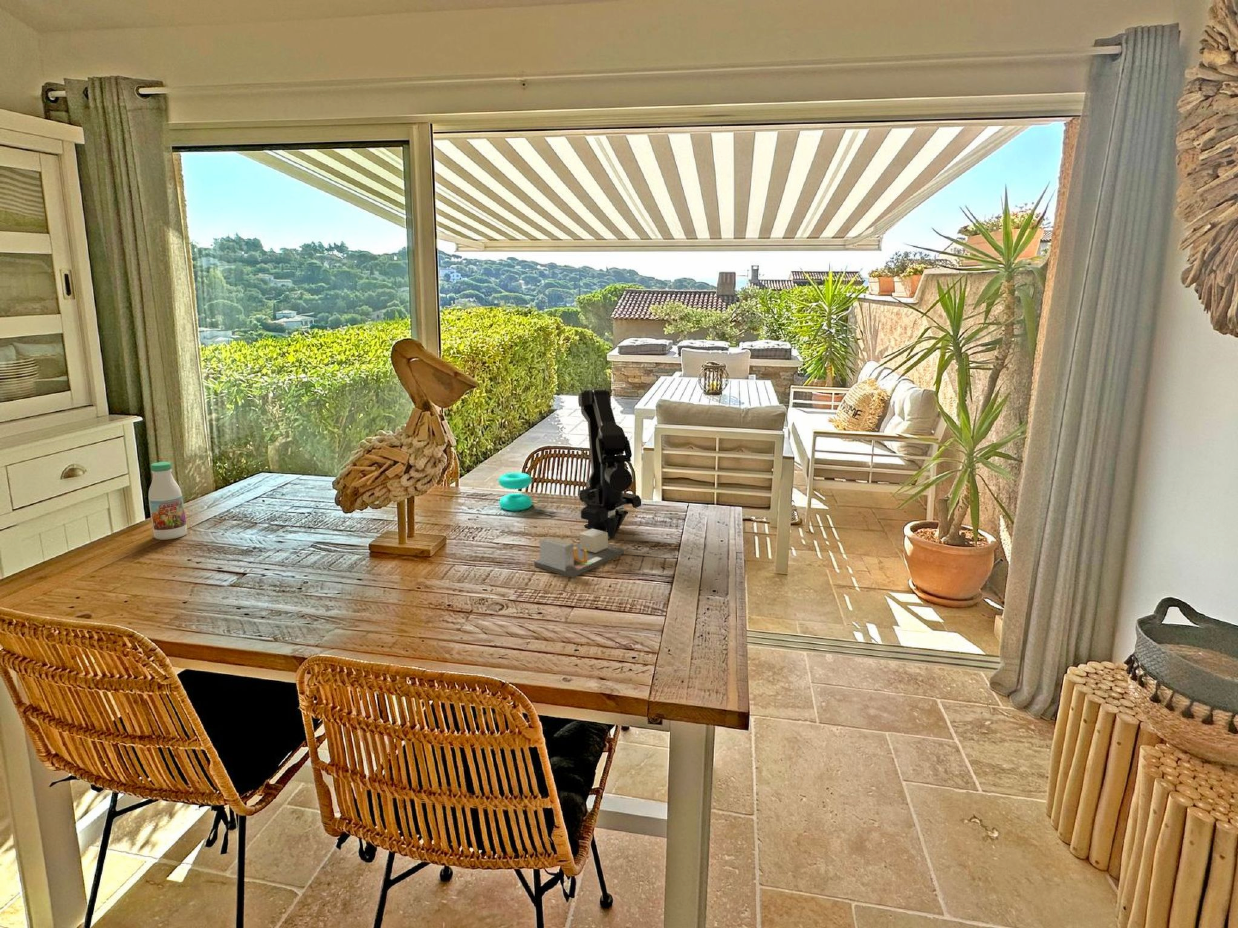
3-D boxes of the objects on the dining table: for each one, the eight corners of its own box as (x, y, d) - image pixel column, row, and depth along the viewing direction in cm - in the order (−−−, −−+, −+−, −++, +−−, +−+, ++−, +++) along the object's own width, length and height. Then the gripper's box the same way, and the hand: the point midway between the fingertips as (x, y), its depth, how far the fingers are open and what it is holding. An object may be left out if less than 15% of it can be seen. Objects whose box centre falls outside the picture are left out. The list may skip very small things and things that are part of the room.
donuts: (531, 479, 217) (497, 480, 216) (532, 511, 219) (498, 512, 218) (531, 471, 226) (499, 471, 225) (532, 501, 229) (500, 502, 228)
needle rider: (565, 555, 179) (565, 542, 178) (588, 562, 175) (588, 549, 174) (559, 558, 177) (559, 544, 176) (583, 565, 173) (583, 551, 172)
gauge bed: (586, 543, 192) (586, 517, 190) (623, 553, 185) (623, 526, 183) (534, 566, 176) (533, 537, 175) (571, 577, 169) (571, 548, 168)
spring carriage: (592, 543, 188) (592, 528, 187) (607, 547, 185) (607, 532, 184) (579, 548, 184) (579, 533, 183) (595, 552, 181) (595, 537, 180)
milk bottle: (147, 538, 194) (136, 465, 189) (174, 529, 201) (164, 458, 196) (167, 542, 191) (156, 468, 186) (194, 533, 198) (184, 461, 193)
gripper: (609, 468, 198) (609, 523, 202) (564, 483, 184) (564, 541, 188) (642, 475, 192) (641, 531, 196) (598, 490, 177) (598, 550, 181)
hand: (611, 538), depth 190 cm, fingers closed
